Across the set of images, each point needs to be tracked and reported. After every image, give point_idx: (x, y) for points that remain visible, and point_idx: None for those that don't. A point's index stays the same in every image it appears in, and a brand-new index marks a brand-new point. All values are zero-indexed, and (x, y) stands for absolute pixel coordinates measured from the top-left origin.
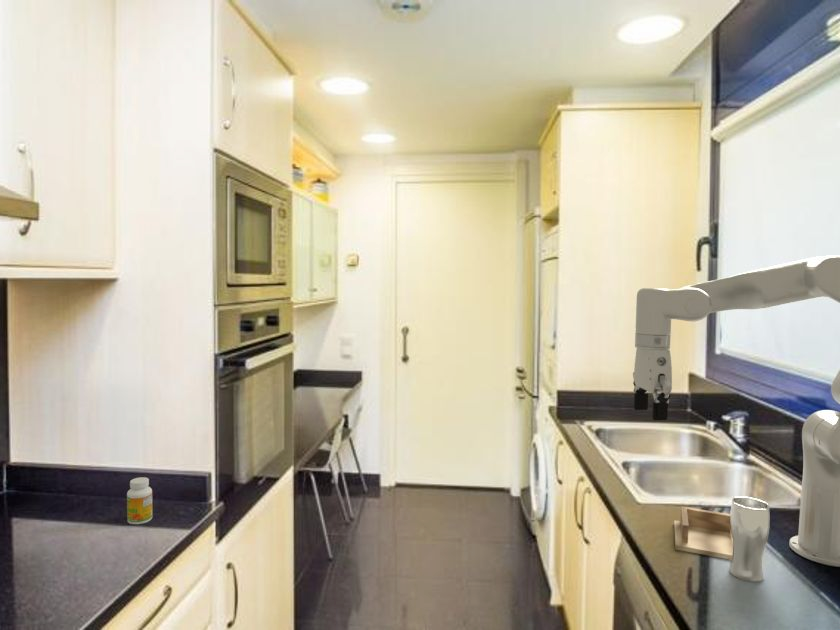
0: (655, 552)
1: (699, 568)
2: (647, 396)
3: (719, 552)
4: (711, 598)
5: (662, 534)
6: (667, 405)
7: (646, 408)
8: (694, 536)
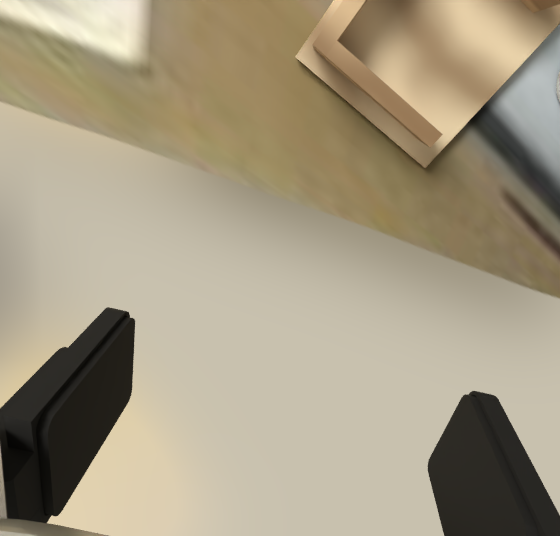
0: (416, 223)
1: (518, 174)
2: (63, 405)
3: (505, 75)
4: None
5: (343, 141)
6: (557, 515)
7: (129, 327)
8: (404, 75)
